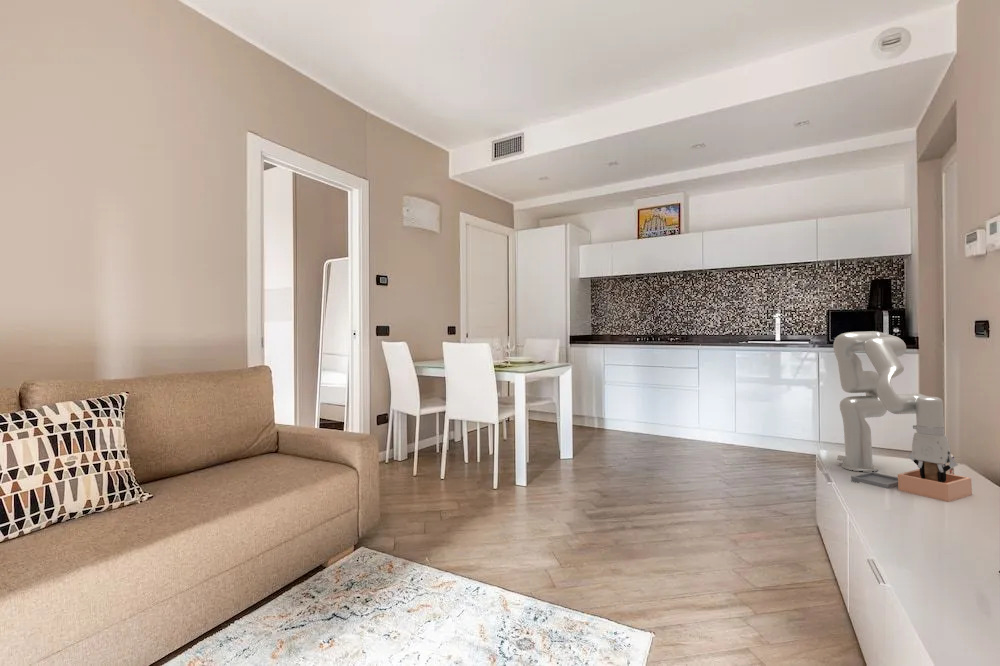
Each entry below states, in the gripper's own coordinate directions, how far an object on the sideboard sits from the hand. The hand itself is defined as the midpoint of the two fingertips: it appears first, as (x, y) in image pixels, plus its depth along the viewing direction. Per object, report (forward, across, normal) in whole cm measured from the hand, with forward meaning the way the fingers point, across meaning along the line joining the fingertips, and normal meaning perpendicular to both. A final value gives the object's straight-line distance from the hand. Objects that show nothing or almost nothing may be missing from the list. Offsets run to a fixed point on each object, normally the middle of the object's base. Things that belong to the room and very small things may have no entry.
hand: (933, 480), depth 175 cm
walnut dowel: (+4, 0, 0) cm, 4 cm away
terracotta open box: (+5, 0, 0) cm, 5 cm away
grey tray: (+5, -17, -2) cm, 18 cm away
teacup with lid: (+5, -11, +27) cm, 29 cm away
